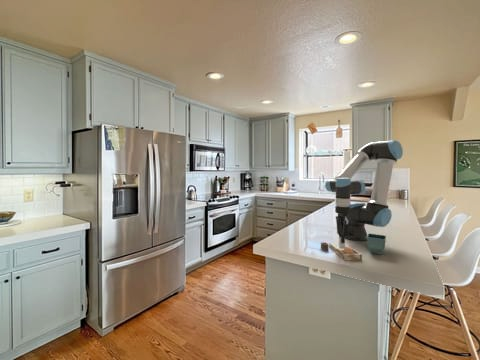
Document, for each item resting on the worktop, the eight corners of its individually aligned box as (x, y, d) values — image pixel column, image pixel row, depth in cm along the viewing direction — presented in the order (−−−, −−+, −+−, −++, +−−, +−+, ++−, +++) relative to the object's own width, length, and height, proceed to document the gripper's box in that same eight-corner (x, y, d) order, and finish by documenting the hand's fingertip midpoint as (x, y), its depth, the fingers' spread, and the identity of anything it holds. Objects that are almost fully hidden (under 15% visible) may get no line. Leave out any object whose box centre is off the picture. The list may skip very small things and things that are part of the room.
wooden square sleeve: (326, 248, 140) (326, 242, 140) (328, 250, 136) (328, 244, 136) (320, 248, 140) (320, 242, 139) (322, 250, 136) (322, 244, 136)
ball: (353, 260, 125) (350, 253, 129) (356, 252, 123) (352, 245, 127) (343, 258, 125) (340, 252, 130) (346, 250, 123) (343, 244, 128)
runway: (342, 246, 143) (342, 242, 143) (352, 253, 131) (352, 249, 131) (329, 246, 143) (329, 242, 143) (337, 253, 131) (337, 249, 131)
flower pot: (385, 256, 127) (385, 239, 127) (366, 253, 132) (366, 236, 131) (385, 251, 135) (386, 235, 134) (367, 248, 139) (368, 233, 139)
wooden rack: (353, 253, 131) (353, 248, 131) (361, 259, 122) (362, 254, 122) (336, 253, 131) (336, 248, 131) (343, 260, 122) (343, 254, 122)
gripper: (331, 204, 140) (330, 244, 142) (340, 207, 127) (339, 252, 129) (344, 204, 140) (343, 244, 142) (355, 207, 127) (354, 252, 129)
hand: (341, 248), depth 135 cm, fingers closed
